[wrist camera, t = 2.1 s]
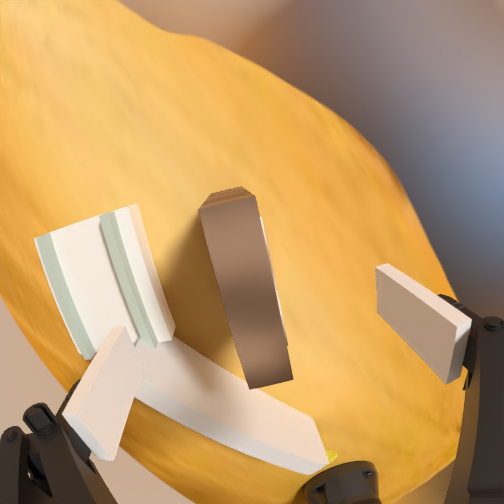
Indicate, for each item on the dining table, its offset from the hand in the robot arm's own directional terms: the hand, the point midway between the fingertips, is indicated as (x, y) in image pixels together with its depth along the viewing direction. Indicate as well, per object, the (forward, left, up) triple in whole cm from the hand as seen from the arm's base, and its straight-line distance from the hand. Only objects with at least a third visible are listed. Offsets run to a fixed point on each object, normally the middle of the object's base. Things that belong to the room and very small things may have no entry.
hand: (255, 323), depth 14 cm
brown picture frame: (0, 0, -17) cm, 17 cm away
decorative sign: (-20, +4, -17) cm, 26 cm away
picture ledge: (0, +15, -16) cm, 22 cm away
